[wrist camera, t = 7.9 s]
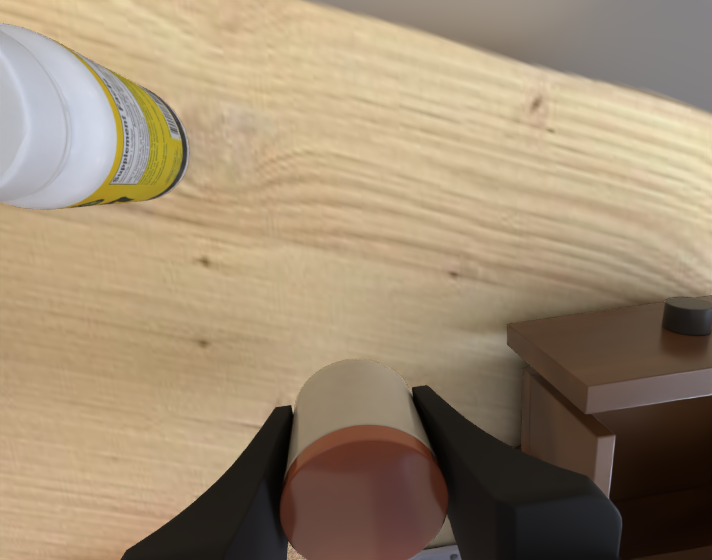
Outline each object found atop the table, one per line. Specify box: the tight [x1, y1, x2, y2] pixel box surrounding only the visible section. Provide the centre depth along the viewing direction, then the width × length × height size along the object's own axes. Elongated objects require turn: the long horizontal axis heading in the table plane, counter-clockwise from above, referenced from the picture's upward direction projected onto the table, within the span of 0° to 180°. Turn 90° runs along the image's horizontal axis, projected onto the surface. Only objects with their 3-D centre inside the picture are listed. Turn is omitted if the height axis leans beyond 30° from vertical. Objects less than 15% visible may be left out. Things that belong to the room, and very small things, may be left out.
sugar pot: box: [279, 359, 449, 560], centre depth 12 cm, size 5×5×4 cm
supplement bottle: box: [0, 23, 189, 210], centre depth 11 cm, size 5×5×8 cm
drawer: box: [507, 295, 712, 560], centre depth 17 cm, size 14×13×6 cm
